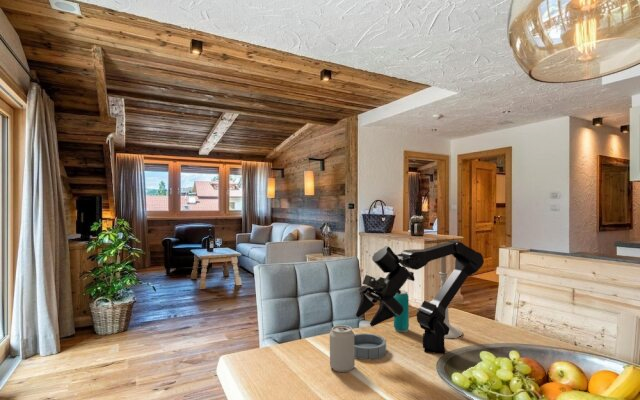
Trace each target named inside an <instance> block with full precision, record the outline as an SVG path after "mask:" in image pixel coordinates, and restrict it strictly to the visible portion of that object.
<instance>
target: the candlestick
mask: <svg viewBox="0 0 640 400" xmlns="http://www.w3.org/2000/svg"><path fill="white" fill-rule="evenodd" d="M438 274H439V278H440V280H441V281H440V289H441V288H442V286H443V285H444V283H445V282H446V281H447V279H448V274H449V272H447V256H445V257H442V258H440V271H439V272H438ZM444 323H445V324H446V325H447V326H448V327H449V328H450V329H449V333H448V335H445V336H444V339H445V338H455V339H458V338H457V337H459V336H461V335H462V336H463V331H462V330H461V329H460V328H459V327H457V326H455V325H451V324H450V318H449V306H448V307H447V308H446V313H445V320H444ZM462 336H461V337H462ZM459 338H460V337H459Z"/></svg>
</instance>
